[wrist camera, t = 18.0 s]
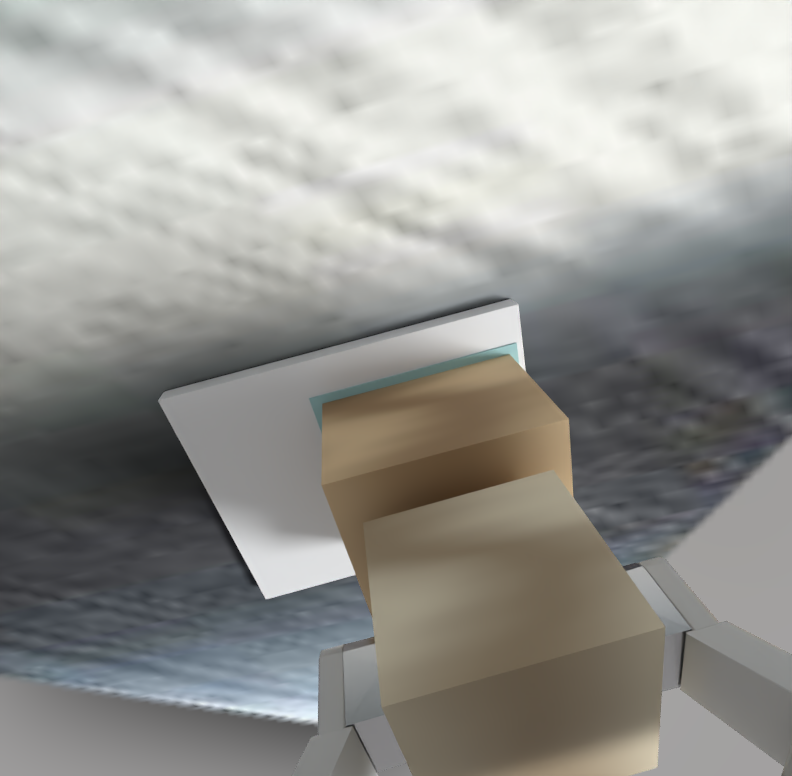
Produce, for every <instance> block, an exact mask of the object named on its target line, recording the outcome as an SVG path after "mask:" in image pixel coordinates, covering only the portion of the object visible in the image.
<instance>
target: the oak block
mask: <svg viewBox="0 0 792 776" xmlns="http://www.w3.org/2000/svg"><path fill="white" fill-rule="evenodd" d="M550 470H554V471H555V473H556V474H557V476H558V477H559V478H560V480H561V481H562V483H563V484H564V485H565V487H566V488H567V490H568V491H569V492H570V494H571V495H572V497H573V484H572V467H571V450H570V433H569V419H568V418H567V417H566V415H565V414H564V413H563V412H562V411H561V410H560V409H559V408H558V407H557V406H556V404H555V403H554V402H553V401H552V400H551V399H550V398H549V397H548V396H547V395H546V394H545V392H544V391H543V390H542V389H541V388H540V387H539V386H538V385H537V384H536V383H535V381H534V380H533V379H532V378H531V377H530V376H529V375H528V374H527V373H526V372H525V371H524V369H523V368H522V367H521V366H520V365H519V364H518V363H517V362H516V361H515V360H514V358H513V357H512V356H511V355H510V354H508V355H504V356H500V357H497V358H493V359H489V360H485V361H482V362H478V363H474V364H470V365H467V366H463V367H459V368H455V369H451V370H448V371H444V372H440V373H436V374H433V375H429V376H425V377H421V378H417V379H414V380H410V381H406V382H402V383H399V384H395V385H391V386H387V387H383V388H380V389H376V390H372V391H368V392H365V393H361V394H357V395H353V396H350V397H346V398H342V399H338V400H334V401H331V402H327V403H323V404H322V474H321V486H322V488H323V491H324V493H325V496H326V499H327V501H328V504H329V506H330V509H331V512H332V514H333V517H334V519H335V522H336V525H337V527H338V530H339V532H340V535H341V538H342V540H343V543H344V545H345V548H346V551H347V553H348V556H349V558H350V561H351V564H352V566H353V569H354V571H355V574H356V577H357V579H358V582H359V584H360V587H361V590H362V592H363V595H364V597H365V600H366V603H367V605H368V608H369V610H370V613H371V616H372V608H371V598H370V588H369V578H368V568H367V558H366V548H365V538H364V528H363V523H364V522H367V521H371V520H375V519H378V518H382V517H385V516H389V515H392V514H396V513H400V512H403V511H407V510H410V509H414V508H418V507H421V506H425V505H428V504H432V503H435V502H439V501H443V500H446V499H450V498H453V497H457V496H461V495H464V494H468V493H471V492H475V491H478V490H482V489H486V488H489V487H493V486H496V485H500V484H504V483H507V482H511V481H514V480H518V479H521V478H525V477H529V476H532V475H536V474H539V473H543V472H547V471H550Z"/></svg>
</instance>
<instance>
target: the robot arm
mask: <svg viewBox="0 0 792 776" xmlns="http://www.w3.org/2000/svg"><path fill="white" fill-rule="evenodd" d="M623 568H624V569H625V571H626V572H627V574H628V575H629V576H630V578H631V579H632V581H633V582H634V583H635V585H636V586H637V588H638V589H639V590H640V592H641V593H642V595H643V596H644V597H645V599H646V600H647V602H648V603H649V604H650V606H651V607H652V609H653V610H654V611H655V613H656V614H657V616H658V617H659V618H660V620H661V621H662V623H663V624H664V625H665V644H664V661H663V679H662V691H666V690H670V689H674V688H678V687H681V688H680V689H681V690H682V691H683V692H684V693H686V694H687V695H689V696H690V697H691V698H692V699H694V700H695V701H696V702H698V703H699V704H700V705H702V706H703V707H704V708H706V709H707V710H709V711H710V712H711V713H713V714H714V715H715V716H717V717H718V718H719V719H721V720H722V721H723V722H725V723H726V724H727V725H729V726H730V727H731V728H733V729H734V730H735V731H737V732H738V733H740V734H741V735H742V736H744V737H745V738H746V739H747V740H749V741H750V742H752V743H753V744H754V745H756V746H757V747H758V748H759V749H761V750H762V751H764V752H765V753H766V754H768V755H769V756H770V757H772V758H773V759H774V760H776V761H777V762H778V763H780V764H781V765H783V766H784V769H783V772H782V775H781V776H792V654H790V653H788V652H786V651H784V650H782V649H780V648H778V647H776V646H774V645H772V644H770V643H768V642H766V641H765V640H763V639H761V638H759V637H757V636H755V635H753V634H751V633H749V632H747V631H745V630H743V629H741V628H739V627H737V626H735V625H734V624H732V623H730V622H728V621H724V622H720V623H719V622H718V620H717V619H716V618H715V617H714V616H713V614H712V613H711V612H710V611H709V610H708V609H707V607H706V606H705V605H704V604H703V603H702V602H701V600H700V599H699V598H698V597H697V596H696V594H695V593H694V592H693V591H692V590H691V589H690V587H689V586H688V585H687V584H686V583H685V581H684V580H683V579H682V578H681V577H680V576H679V575H678V573H677V572H676V571H675V570H674V568H673V567H672V566H671V565H670V564H669V563H668V561H667V560H665V559H664V558H662V557H656V558H653V559H649V560H646V561H643V562H639V563H633V564H630V565H626V566H623ZM406 763H407V762H406V760H405V758H404V756H403V753H402V751H401V749H400V747H399V745H398V742H397V740H396V738H395V736H394V734H393V731H392V729H391V727H390V725H389V723H388V721H387V718H386V716H385V714H384V712H383V710H382V707H381V698H380V688H379V678H378V668H377V658H376V648H375V638H374V637H371V638H367V639H364V640H360V641H356V642H352V643H348V644H343V645H340V646H336V647H333V648H329V649H326V650H322V651H321V653H320V658H319V692H318V735H317V736H314V737H311V738H310V740H309V742H308V744H307V746H306V748H305V750H304V752H303V754H302V756H301V758H300V760H299V762H298V764H297V766H296V768H295V770H294V772H293V774H292V776H378V775H377V772H380V771H383V770H387V769H389V768H393V767H396V766H399V765H402V764H406Z"/></svg>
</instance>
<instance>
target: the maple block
mask: <svg viewBox="0 0 792 776" xmlns="http://www.w3.org/2000/svg"><path fill="white" fill-rule="evenodd" d="M363 528H364V538H365V548H366V558H367V568H368V578H369V588H370V598H371V608H372V618H373V628H374V638H375V648H376V658H377V668H378V678H379V688H380V698H381V707H382V710H383V712H384V714H385V716H386V718H387V721H388V723H389V725H390V727H391V729H392V731H393V734H394V736H395V738H396V740H397V742H398V745H399V747H400V749H401V751H402V753H403V756H404V758H405V760H406V762H407V764H408V766H409V769H410V771H411V773H412V775H413V776H630V775H633V774H637V773H640V772H643V771H647V770H651V769H654V768H657V765H658V748H659V729H660V712H661V696H662V679H663V661H664V644H665V625H664V624H663V623H662V621H661V620H660V618H659V617H658V616H657V614H656V613H655V611H654V610H653V609H652V607H651V606H650V604H649V603H648V602H647V600H646V599H645V597H644V596H643V595H642V593H641V592H640V590H639V589H638V588H637V586H636V585H635V583H634V582H633V581H632V579H631V578H630V576H629V575H628V574H627V572H626V571H625V569H624V568H623V567H622V565H621V564H620V562H619V561H618V560H617V558H616V557H615V555H614V554H613V553H612V551H611V550H610V548H609V547H608V546H607V544H606V543H605V541H604V540H603V539H602V537H601V536H600V534H599V533H598V532H597V530H596V529H595V527H594V526H593V525H592V523H591V522H590V520H589V519H588V518H587V516H586V515H585V513H584V512H583V511H582V509H581V508H580V506H579V505H578V504H577V502H576V501H575V499H574V498H573V497H572V495H571V494H570V492H569V491H568V490H567V488H566V487H565V485H564V484H563V483H562V481H561V480H560V478H559V477H558V476H557V474H556V473H555V471H554V470H550V471H547V472H543V473H539V474H536V475H532V476H529V477H525V478H521V479H518V480H514V481H511V482H507V483H504V484H500V485H496V486H493V487H489V488H486V489H482V490H478V491H475V492H471V493H468V494H464V495H461V496H457V497H453V498H450V499H446V500H443V501H439V502H435V503H432V504H428V505H425V506H421V507H418V508H414V509H410V510H407V511H403V512H400V513H396V514H392V515H389V516H385V517H382V518H378V519H375V520H371V521H367V522H364V523H363Z"/></svg>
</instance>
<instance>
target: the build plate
mask: <svg viewBox="0 0 792 776" xmlns="http://www.w3.org/2000/svg"><path fill="white" fill-rule="evenodd" d="M508 354H510V355H511V356H512V357H513V358H514V360H515V361H516V362H517V363H518V364H519V365H520V366H521V367H522V368H523V369H524V371H525V372H526V370H525V361H524V352H523V343H522V334H521V325H520V315H519V306H518V304H517V303H516V302H515V301H513V300H512V299H508V300H504V301H501V302H497V303H493V304H489V305H486V306H482V307H478V308H475V309H471V310H467V311H463V312H460V313H456V314H452V315H448V316H445V317H441V318H437V319H433V320H430V321H426V322H422V323H418V324H415V325H411V326H407V327H403V328H400V329H396V330H392V331H389V332H385V333H381V334H377V335H374V336H370V337H366V338H362V339H359V340H355V341H351V342H347V343H344V344H340V345H336V346H332V347H329V348H325V349H321V350H318V351H314V352H310V353H306V354H303V355H299V356H295V357H291V358H288V359H284V360H280V361H276V362H273V363H269V364H265V365H261V366H258V367H254V368H250V369H247V370H243V371H239V372H235V373H232V374H228V375H224V376H220V377H217V378H213V379H209V380H205V381H202V382H198V383H194V384H190V385H187V386H183V387H179V388H176V389H172V390H168V391H164V392H163V394H162V395H161V397H160V398H159V400H158V402H159V404H160V406H161V407H162V409H163V411H164V413H165V415H166V417H167V418H168V420H169V422H170V424H171V426H172V428H173V429H174V431H175V433H176V435H177V437H178V439H179V440H180V442H181V444H182V446H183V448H184V450H185V451H186V453H187V455H188V457H189V459H190V461H191V463H192V464H193V466H194V468H195V470H196V472H197V474H198V475H199V477H200V479H201V481H202V483H203V485H204V486H205V488H206V490H207V492H208V494H209V496H210V497H211V499H212V501H213V503H214V505H215V507H216V508H217V510H218V512H219V514H220V516H221V518H222V520H223V521H224V523H225V525H226V527H227V529H228V531H229V532H230V534H231V536H232V538H233V540H234V542H235V543H236V545H237V547H238V549H239V551H240V553H241V554H242V556H243V558H244V560H245V562H246V564H247V565H248V567H249V569H250V571H251V573H252V575H253V577H254V578H255V580H256V582H257V584H258V586H259V588H260V589H261V591H262V593H263V595H264V597H265V599H269V598H273V597H277V596H280V595H284V594H287V593H291V592H295V591H298V590H302V589H306V588H309V587H313V586H317V585H320V584H324V583H327V582H331V581H335V580H338V579H342V578H346V577H349V576H353V575H356V574H355V571H354V569H353V566H352V564H351V561H350V558H349V556H348V553H347V551H346V548H345V545H344V543H343V540H342V538H341V535H340V532H339V530H338V527H337V525H336V522H335V519H334V517H333V514H332V512H331V509H330V506H329V504H328V501H327V499H326V496H325V493H324V491H323V488H322V486H321V474H322V404H323V403H327V402H331V401H334V400H338V399H342V398H346V397H350V396H353V395H357V394H361V393H365V392H368V391H372V390H376V389H380V388H383V387H387V386H391V385H395V384H399V383H402V382H406V381H410V380H414V379H417V378H421V377H425V376H429V375H433V374H436V373H440V372H444V371H448V370H451V369H455V368H459V367H463V366H467V365H470V364H474V363H478V362H482V361H485V360H489V359H493V358H497V357H500V356H504V355H508Z"/></svg>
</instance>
